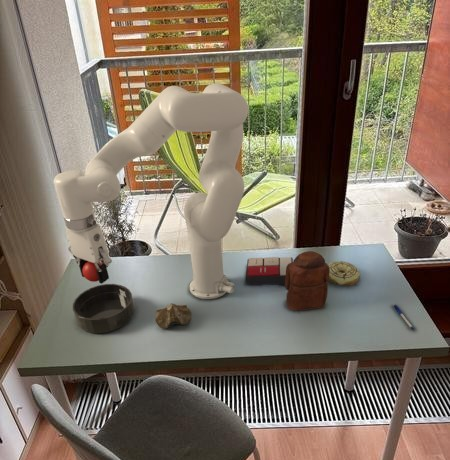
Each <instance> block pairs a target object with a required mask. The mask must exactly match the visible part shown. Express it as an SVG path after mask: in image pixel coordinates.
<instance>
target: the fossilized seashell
mask: <svg viewBox="0 0 450 460" xmlns="http://www.w3.org/2000/svg"><path fill="white" fill-rule="evenodd" d="M155 310H156V312H155V313H156V314H155V316H154V321H155V323H156V325H157V327H159V328H160V329H169V328H170V327H171V326H173V325H174V324H176V325H180V326H187V325H188V324H189V323H190V322H191V320H192V316H193V314H192V311H191V310H190V309H189V308H188V305H187V304H184V305H183V304H181V305H180V304H178V305H177V304H175V303H169V304H167V306H166V307H164V308H159V309H155Z"/></svg>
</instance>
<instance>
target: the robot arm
mask: <svg viewBox="0 0 450 460" xmlns="http://www.w3.org/2000/svg"><path fill="white" fill-rule="evenodd" d="M248 114H249V105H248V101H247V99H246V98H245V97H244V96H243V95H242V94H241V93H240V92H238V91H236V90H234V89H232V88H230V87H229V86H227V85H225V84H222V83H217V82H215V83H214V82H213V83H210V84H208V85H206V87H205V88H204V90H203V91H202V92H190V91H188V90H187V89H185V88H183V87H181V86H178V85H171V86H167V87H166V88H164V89H163V90H162V91H160V93H159V94H158V95H157V96H156V97H155V98H154V99H153V100H152V101H151V102H150V103H149V105H147V107H146V108H145V109H144V110H143V111H142V112H141V113H140V115H138V117H137V118H136V119H134V121H133V122H132V123H131V124H130V125H129V126H128V127H127V128H126V129H124V130H122V131H121V132H119V134H117V135H116V136H114V137H112V138H111V139H110V140H108V141H107V142H106V143H105V144H104V145H103V146H102V147H101V148H100V149H99V150H98V152H97V153H95V155H94V156H93V157H92V158H91V160H89V162H88V164H87V165H86V167H85V170H84V173H83V172H81V171H79V170H65V171H63V172H60V173H58V174H56V175H55V176H54V178H53V186H54V189H55V193H56V197H57V199H58V202H59V207H60V209H61V213H62V217H63V220H64V224H65V230H66V237H67V242H68V245H69V247H68V248H67V250H68V251H69V252H70V254H72V257H73V258H74V259H75V261H76V264H77V265H78V267H79V270H80V275H81V277H83V278H85V277H84V275H83V272H82V270H83V266H84V265H85V263H86V262H88V261H90V262H93V263H94V264H95V266H96V268H97V270H98V271H97V276H98V280H99V281H98V282H99V284H100V285H103V284H104V283H106V281H108V280H109V279H110V276H109V272H108V267H109V266H110V264H112V263H113V260H112V259H111V258H110V256H109V255H110V253H109V249H108V245H107V242H106V239H105V236H104V234H103V231H102V229H101V227H100V224H98V223H97V220H96V216H95V211H94V208H93V203H105V202H111V201H113V200H115V199H117V198H118V197H119V195H120V193H121V189H122V187H121V182H120V180H119V178H118V174H119V173H120V172H121V171H122V170H123V169H124V168H125V167H126V166H127V165H128V164H130V162H132V161H134V160H135V159H138V158H141V157H148V156H152V155H154V154H156V153H158V151H159V149H161V148H162V146H163V145H164V144H166V142H167V141H168V140H169V139H170V138H171V137H172V136H173V135H174V133H175V132H177V131H179V132H184V133H205V132H210V133H211V134H210V138H209V142H208V146H207V148H206V151H205V154H204V156H203V157H204V158H203V160H202V164H201V167H200V169H199V173H198V182H199V184H200V186H201V188H203V189H204V190H205V192H195V193H193V194H191V195H190V196H189V197H187V199H186V200H185V203H184V207H183V215H184V220H185V226H186V230H187V235H188V243H189V253H190V261H191V270H192V280H191V282H190V284H189V292H190V293H191V295H192V296H194V297H195V298H197V299H200V300H201V299H202V300H214V299H218V298H220V297H222V296H224V295H225V294H226V293H228V294H233V293H234V286H235V283H234V282H231V281H229V280H228V279H227V275H225V274H224V261H223V260H224V259H223V247H222V245H223V244H222V239H224V237H226V236H227V234H228V233H229V232H230V229H231V227H232V225H233V223H234V220H235V218H236V216H237V212H238V210H239V207H240V204H241V202H242V200H243V196H244V192H245V181H244V178H243V175H242V174H241V173H240V171H238V170H237V169H236V167H237V162H238V159H239V156H240V153H241V150H242V146H243V143H244V123H245V122H246V120H247V117H248ZM98 262H101V263H102V265H101V266H100V265H99V263H98Z"/></svg>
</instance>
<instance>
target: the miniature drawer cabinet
mask: <svg viewBox="0 0 450 460" xmlns="http://www.w3.org/2000/svg"><path fill="white" fill-rule="evenodd" d="M293 261H294V258H293V257H291V256H288V257H287V256H285V257H279V256H272V257H271V256H270V257H268V256H267V257H249V258H248V259H247V263H246V271H245V282H246V283H245V284H246V285H280V286H285V276H286V267H287V265H288V264H289V263H292V262H293Z"/></svg>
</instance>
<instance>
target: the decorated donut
mask: <svg viewBox="0 0 450 460" xmlns="http://www.w3.org/2000/svg"><path fill="white" fill-rule="evenodd" d="M327 265H328V266H329V268H330V270H329V280H328V281H329V282H330V283H332V284H335V285H339V286H343V287H345V286H346V287H348V286H353V285H356V283H357V282H358V281H359V279H360V277H361V273H360V271H359V269H358V267H356V266H355V265H354V264H353V263H350V262H348V261H342V260H337V261H333V262H330V263H329V264H328V263H327Z"/></svg>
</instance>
